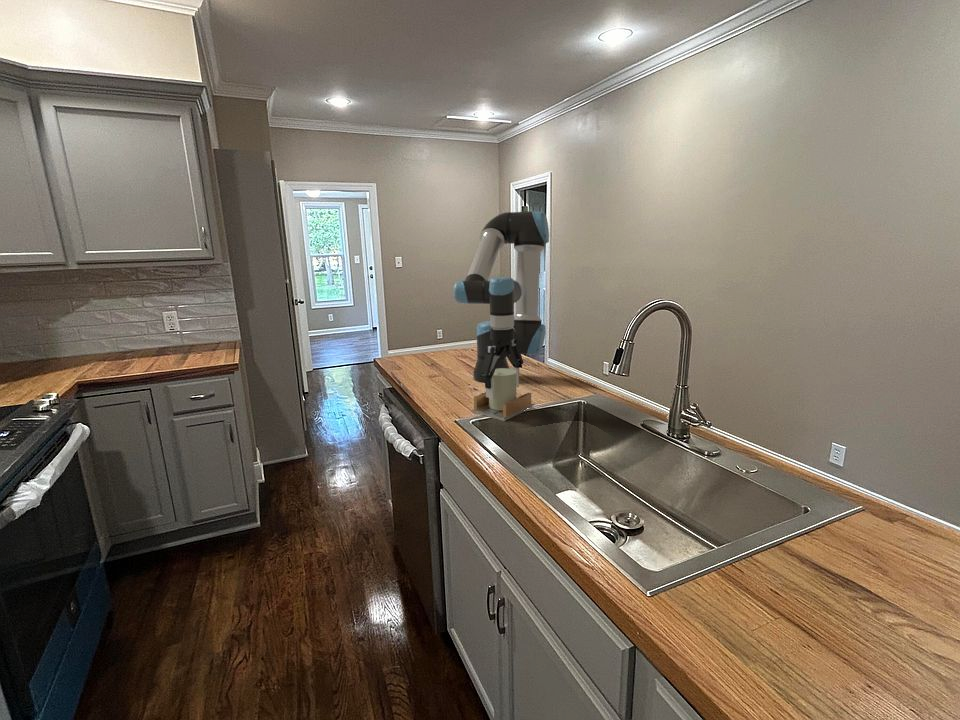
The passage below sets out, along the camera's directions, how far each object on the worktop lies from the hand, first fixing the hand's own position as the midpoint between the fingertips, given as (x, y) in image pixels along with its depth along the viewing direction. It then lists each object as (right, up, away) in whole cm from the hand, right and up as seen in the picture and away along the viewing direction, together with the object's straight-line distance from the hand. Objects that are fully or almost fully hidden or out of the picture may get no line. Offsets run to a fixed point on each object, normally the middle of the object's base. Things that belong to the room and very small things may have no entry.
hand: (502, 392), depth 155 cm
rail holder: (0, -6, +1) cm, 6 cm away
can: (0, -5, +1) cm, 5 cm away
